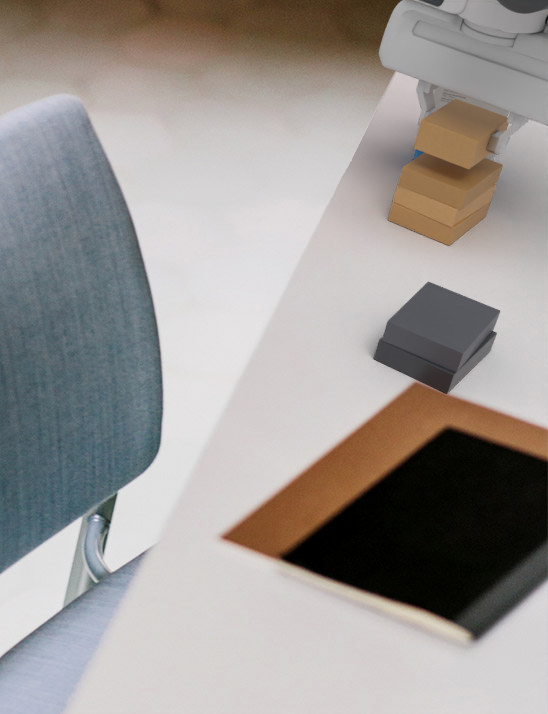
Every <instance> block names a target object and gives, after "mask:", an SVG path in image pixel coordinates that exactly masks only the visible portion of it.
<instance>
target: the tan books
mask: <svg viewBox="0 0 548 714" xmlns="http://www.w3.org/2000/svg"><path fill="white" fill-rule="evenodd" d="M413 159H414V158H413ZM503 167H504V164H502V163H500V162H498V161H494V160H493V161H492V160H489V159H487V158H484V159H483V160H481V161H480V162H479V163H477V164H476V165H474V166H473V167H472V168H470V169H466V168H464V167H461V166H458V165H456V164H453V163H451V162H448V161H445V160H443V159H440V158H438V157H435V156H432V155H430V154H427V153H423V154H422V155H420V156H419V157H417V158H416V159H414V160H411V161H410V162H407V164H405V165H403V166H402V168H401V172H400V175H399V178H398V182H397V185H396V187H395V191H394V195H393V199H392V204H391V208H390V211H389V214H388V217H387V221H389V222H390V223H394V224H396V225H398V226H400V227H402V228H405V229H408V230H410V231H412V232H415V233H418V234H420V235H422V236H424V237H427V238H429V239H432V240H434V241H437V242H439V243H442V244H444V245H446V246H449V247H450V246H451V245H452V244H453V243H455V242H456V241H457V240H459V239H460V238H461V237H463V235H465V234H466V233H468V232H469V231H470V230H471V229H472V228H474V227H475V226H476V225H478V223H480V222H481V221H483V219H485V218H486V217H487V214H488V210H489V208H490V205H491V202H492V199H493V197H494V194H495V191H496V188H497V184H498V181H499V179H500V176H501V173H502V170H503Z"/></svg>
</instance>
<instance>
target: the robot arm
mask: <svg viewBox="0 0 548 714" xmlns="http://www.w3.org/2000/svg"><path fill="white" fill-rule="evenodd" d="M378 57H379V60H380V63H381V65H382V67H384V68H386V69H389V70H391V71H394V72H397V73H399V74H402V75H405V76H408V77H410V78H413V79H416V80H418V82H417V85H416V88H415V91H416V96H417V99H418V103H419V106H420V110H421V111H420V115H419V118H418V121H417V125H418V126H419V127H420V124H421V120H422V119H424V118H425V117H427V116H428V115H430V114H432V113H433V112H435V111H437V110H438V109H440V108H437V107H435V101H434V95H433V90H435V89H436V88H438V87H441V88H444V89H447V90H449V91H452V92H455V93H458V94H460V95H463V96H466V97H469V98H472V99H474V100H477V101H480V102H483V103H485V104H488V105H491V106H494V107H497V108H499V109H502V110H505V111H508V112H509V115H508V119H507V123H509V124H510V126H508V127H507V130H506V131H504V132H502V131H499V130H497V131H495V133H493V134H491V135H490V138H489V141H488V143H489V144H488V145H487V147H486V151H488V152H491V153H494V154H495V156H496V155H497V156H501V155H502V154H504V153H505V152H506V150H507V147H508V144H509V142H510V138H511V137H512V136H513V135H514V134H516V132H518V131H519V130H520V129H521V128H522V127H524V125H526V124H527V123H528V122H529V121H533V122H536V123H539V124H541V125H544V126H547V127H548V0H400V2H398V3H397V5H395V7H394V9H393V10H392V12H391V14H390V17H389V19H388V22H387V24H386V27H385V30H384V32H383V35H382V39H381V41H380V46H379V49H378Z"/></svg>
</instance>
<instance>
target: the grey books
mask: <svg viewBox="0 0 548 714" xmlns="http://www.w3.org/2000/svg"><path fill="white" fill-rule="evenodd" d="M500 314H501V310H500V309H498V308H495V307H493V306H490V305H489V304H486V303H483V302H481V301H478V300H475V299H473V298H470V297H468V296H465V295H462V293H461V294H460V293H458V292H456V291H454V290H451V289H448V288H446V287H443V286H441V285H438V284H435V283H434V282H431V281H427V282H426V283H425V284H424V285H423V286H422V287H420V289H419V290H418V291H417V292H416V293H415V294H414V295H412V297H410V298H409V300H407V302H405V303H404V304H403V305H402V306H401V308H400V309H398V310H397V311H396V312H395V313H394V314H393V315H392V316H391V317H390V318H389V319H388V320H387V321H386V324H385V328H384V331H383V335H382V337H381V338H379V339H378V342H377V346H376V348H375V352H374V355H373V360H375V361H377V362H379V363H381V364H383V365H385V366H388V367H390V368H392V369H394V370H396V371H398V372H400V373H402V374H405V375H406V376H408V377H411V378H413V379H415V380H416V381H417V380H418V381H419V382H421V383H424V384H425V385H427V386H430V387H431V388H434V389H435V390H438V391H440V392H442V393H444V394H446V395H447V394H449V393H450V391H452V390H453V389H454V388H455V386H457V385H458V384H459V383H460V382H461V381H462V380H463V379H464V378H465V377H466V376H467V375H468V374H469V373H470V372H471V371H472V370H473V369H474V368H475V367H476V366H477V365H478V364H479V363H480V362H481V361H482V360H483V359H484V358H485V357H487V355H488V354H489V353H490V352H491V350H492V348H493V346H494V343H495V340H496V338H497V334H498V332H497V331H494V330H495V327H496V325H497V322H498V319H499V317H500Z"/></svg>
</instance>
